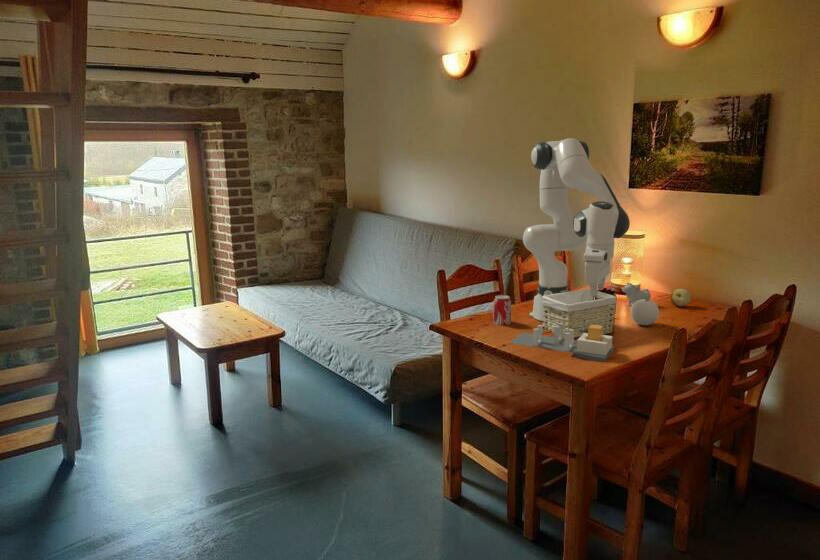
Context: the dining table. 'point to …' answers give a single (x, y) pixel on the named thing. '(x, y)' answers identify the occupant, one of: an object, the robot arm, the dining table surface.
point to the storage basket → (579, 311)
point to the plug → (594, 332)
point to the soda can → (502, 310)
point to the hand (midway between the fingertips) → (597, 292)
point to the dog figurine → (635, 293)
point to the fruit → (680, 297)
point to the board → (568, 343)
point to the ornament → (644, 312)
